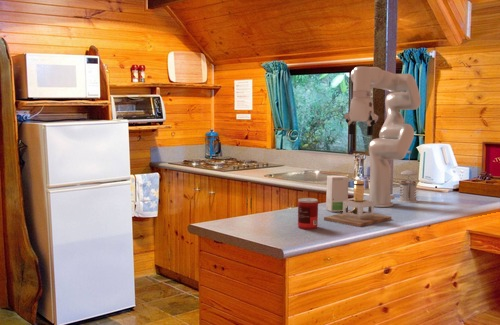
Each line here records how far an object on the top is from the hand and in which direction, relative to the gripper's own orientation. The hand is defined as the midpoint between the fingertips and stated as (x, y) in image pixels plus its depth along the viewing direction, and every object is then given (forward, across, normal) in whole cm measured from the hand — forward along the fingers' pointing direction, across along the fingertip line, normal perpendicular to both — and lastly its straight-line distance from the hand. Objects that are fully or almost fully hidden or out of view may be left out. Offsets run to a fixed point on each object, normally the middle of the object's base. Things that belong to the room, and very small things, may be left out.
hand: (360, 134), depth 263 cm
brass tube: (+33, -10, +14) cm, 37 cm away
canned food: (+34, -6, +41) cm, 54 cm away
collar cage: (+33, -10, +14) cm, 37 cm away
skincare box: (+34, +9, +4) cm, 36 cm away
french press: (+34, +1, -42) cm, 54 cm away
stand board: (+34, -10, +14) cm, 38 cm away
